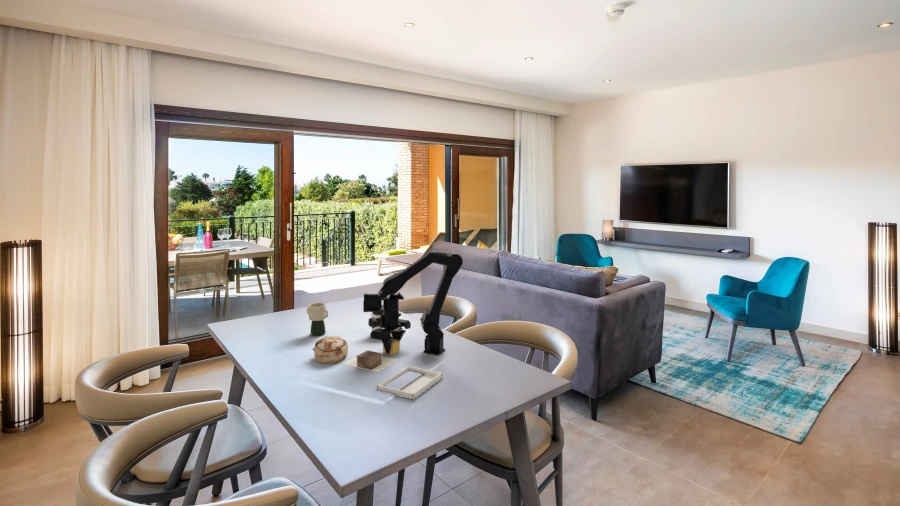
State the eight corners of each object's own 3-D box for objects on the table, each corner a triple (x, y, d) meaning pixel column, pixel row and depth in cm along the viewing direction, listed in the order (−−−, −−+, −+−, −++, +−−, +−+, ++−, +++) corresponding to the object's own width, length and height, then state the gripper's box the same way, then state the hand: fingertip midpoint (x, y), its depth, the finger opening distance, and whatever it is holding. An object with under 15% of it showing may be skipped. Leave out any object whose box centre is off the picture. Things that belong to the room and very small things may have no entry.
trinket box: (339, 349, 178) (338, 329, 177) (357, 360, 167) (357, 339, 166) (305, 356, 170) (305, 336, 169) (323, 369, 158) (322, 347, 157)
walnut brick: (381, 364, 161) (381, 353, 160) (371, 370, 156) (371, 358, 155) (367, 361, 164) (367, 350, 163) (357, 366, 158) (356, 355, 158)
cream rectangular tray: (442, 378, 151) (442, 372, 151) (413, 400, 135) (413, 394, 135) (408, 370, 157) (408, 365, 157) (376, 391, 141) (376, 385, 141)
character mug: (333, 333, 197) (332, 304, 195) (322, 338, 191) (321, 307, 189) (313, 330, 202) (312, 301, 200) (302, 334, 195) (301, 305, 193)
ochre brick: (399, 353, 174) (399, 340, 174) (393, 356, 170) (393, 343, 170) (389, 351, 176) (389, 338, 176) (383, 354, 172) (382, 341, 172)
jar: (371, 337, 192) (370, 309, 191) (371, 331, 200) (371, 304, 199) (392, 336, 193) (392, 309, 192) (392, 331, 201) (392, 304, 200)
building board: (399, 361, 165) (399, 359, 165) (377, 374, 154) (377, 372, 154) (365, 354, 172) (365, 352, 172) (342, 366, 161) (342, 364, 160)
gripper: (387, 303, 183) (387, 340, 185) (358, 314, 166) (358, 355, 169) (411, 306, 178) (411, 345, 180) (383, 318, 161) (383, 360, 164)
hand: (391, 351), depth 173 cm, fingers closed on ochre brick, 4 cm apart
